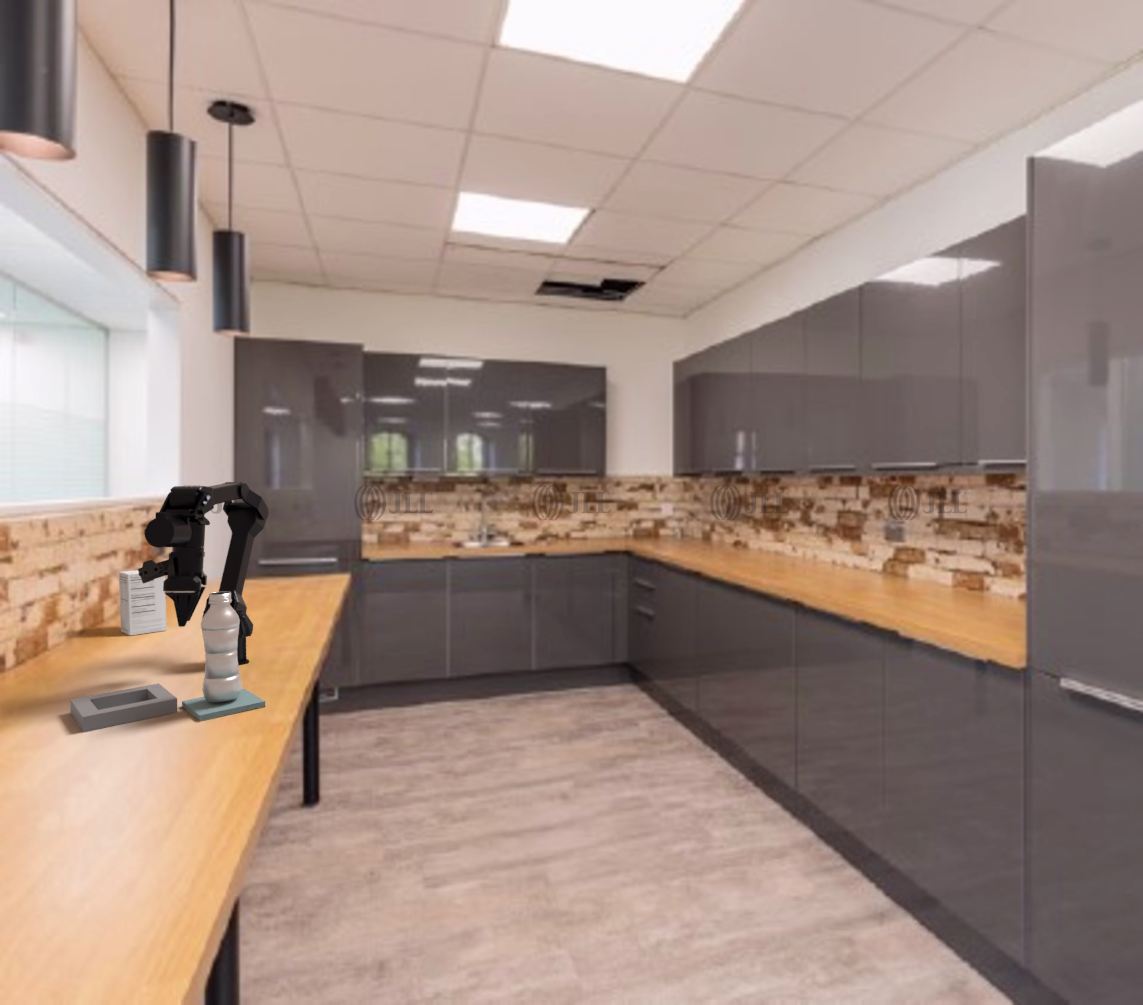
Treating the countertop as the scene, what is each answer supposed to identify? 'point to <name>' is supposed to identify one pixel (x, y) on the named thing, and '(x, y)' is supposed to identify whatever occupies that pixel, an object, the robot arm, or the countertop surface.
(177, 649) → the countertop surface
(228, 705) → the coaster
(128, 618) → the supplement box
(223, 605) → the plastic bottle
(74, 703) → the pocket holder
